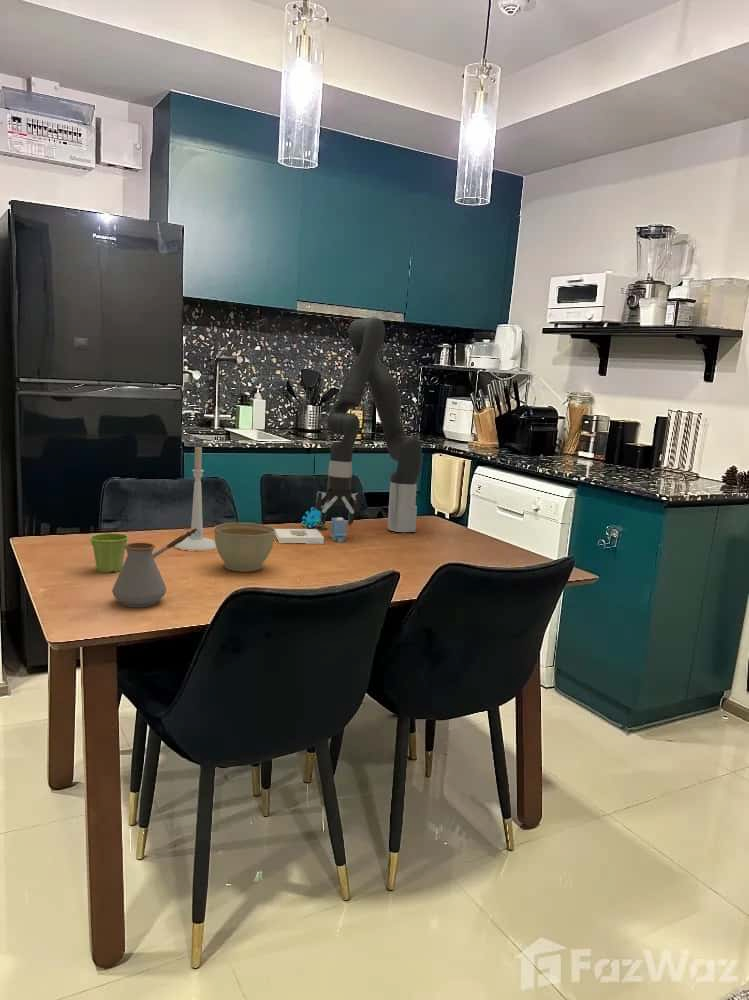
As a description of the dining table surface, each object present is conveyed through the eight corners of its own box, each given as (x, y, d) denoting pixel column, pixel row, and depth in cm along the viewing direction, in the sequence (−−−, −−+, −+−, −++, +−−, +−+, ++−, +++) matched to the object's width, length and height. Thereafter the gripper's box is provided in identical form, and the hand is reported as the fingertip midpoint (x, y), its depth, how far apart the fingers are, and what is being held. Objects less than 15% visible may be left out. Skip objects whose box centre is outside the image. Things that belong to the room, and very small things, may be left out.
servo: (340, 536, 244) (341, 514, 243) (346, 542, 236) (347, 519, 235) (329, 536, 244) (331, 514, 242) (335, 542, 235) (336, 519, 234)
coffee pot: (130, 613, 155) (131, 544, 153) (101, 601, 162) (101, 534, 160) (212, 595, 172) (213, 532, 169) (182, 584, 179) (183, 524, 176)
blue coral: (295, 520, 258) (315, 500, 260) (304, 531, 261) (323, 511, 264) (311, 531, 249) (331, 510, 252) (320, 541, 253) (340, 520, 255)
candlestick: (217, 542, 226) (219, 444, 221) (219, 551, 214) (222, 448, 209) (174, 542, 222) (175, 443, 218) (174, 552, 210) (175, 447, 205)
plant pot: (82, 572, 184) (82, 538, 182) (101, 564, 193) (101, 531, 191) (117, 576, 182) (117, 542, 181) (134, 567, 192) (135, 534, 190)
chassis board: (316, 535, 244) (316, 529, 244) (323, 543, 232) (323, 537, 231) (274, 534, 240) (274, 528, 240) (279, 543, 228) (279, 537, 228)
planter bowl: (248, 579, 186) (249, 537, 185) (200, 568, 194) (200, 528, 192) (285, 567, 200) (287, 528, 199) (239, 557, 208) (240, 520, 206)
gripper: (359, 474, 242) (355, 522, 244) (316, 472, 239) (313, 521, 241) (363, 477, 235) (360, 527, 237) (319, 475, 231) (316, 525, 234)
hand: (336, 524), depth 239 cm, fingers open, 8 cm apart
